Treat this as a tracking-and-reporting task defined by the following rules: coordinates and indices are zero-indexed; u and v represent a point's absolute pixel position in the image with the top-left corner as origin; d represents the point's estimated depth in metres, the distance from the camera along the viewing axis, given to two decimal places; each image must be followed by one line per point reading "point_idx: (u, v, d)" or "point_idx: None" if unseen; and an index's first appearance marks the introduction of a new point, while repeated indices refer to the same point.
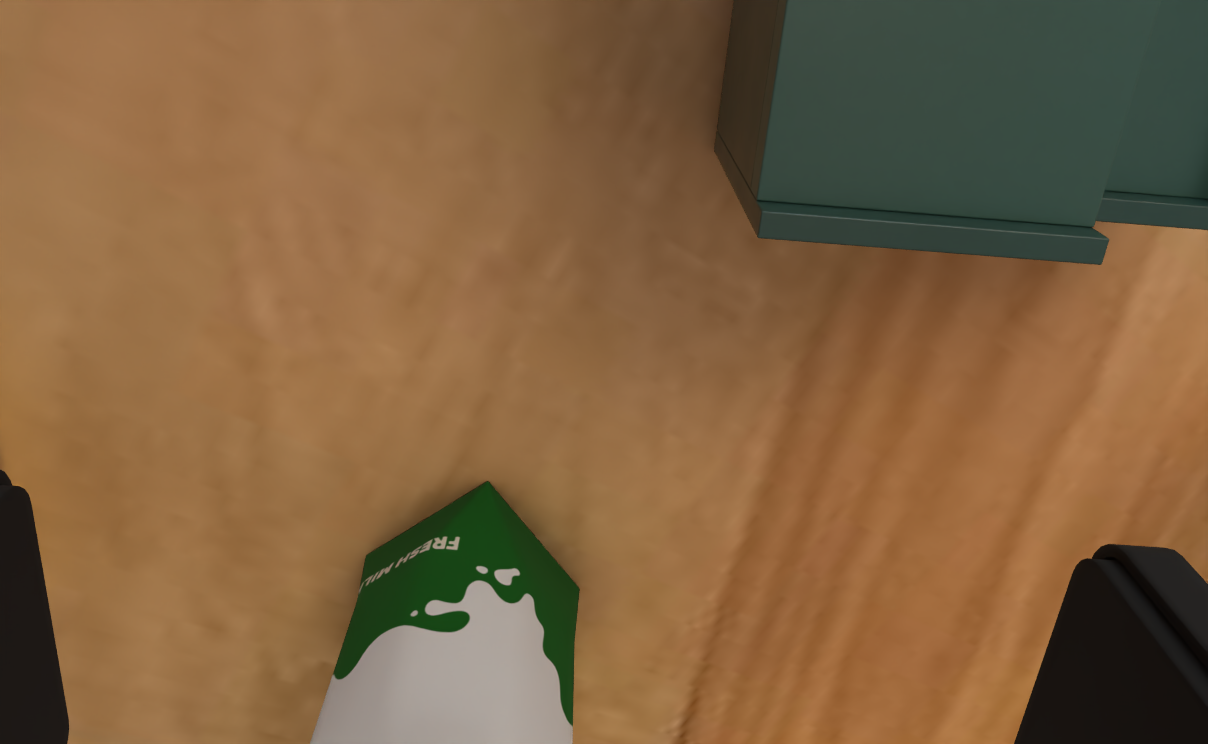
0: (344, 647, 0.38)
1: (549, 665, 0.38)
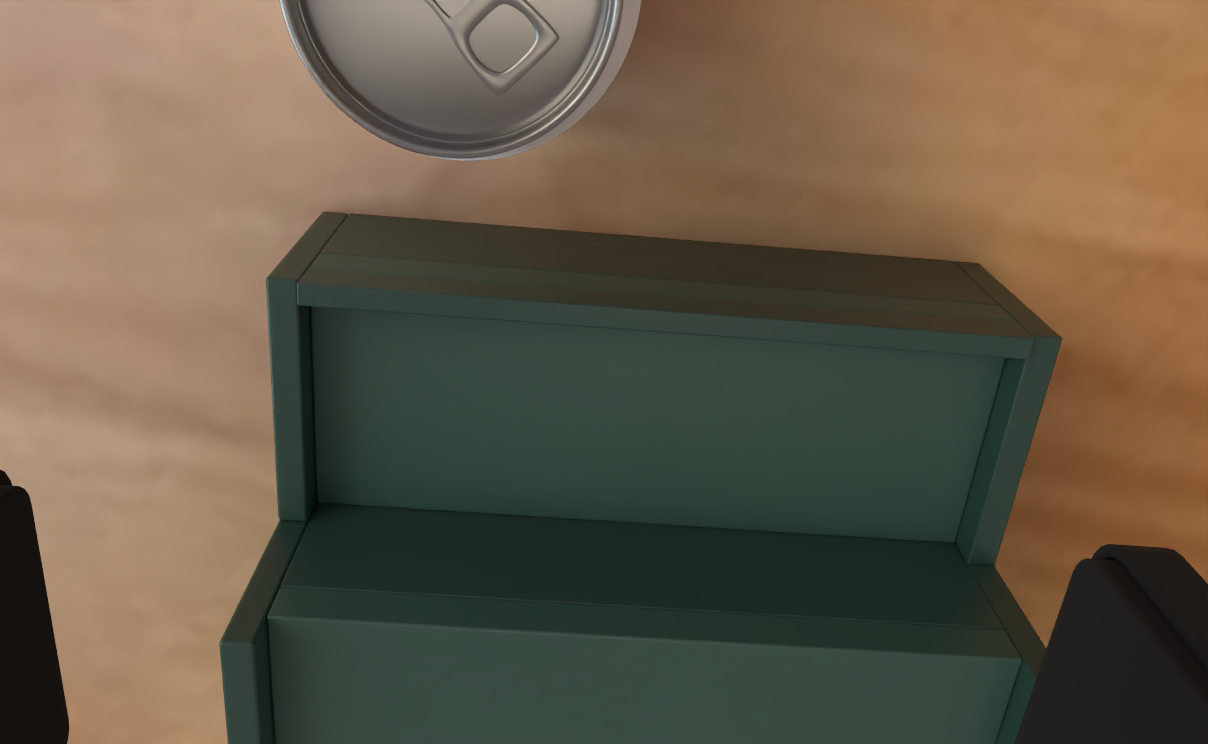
0: None
1: None
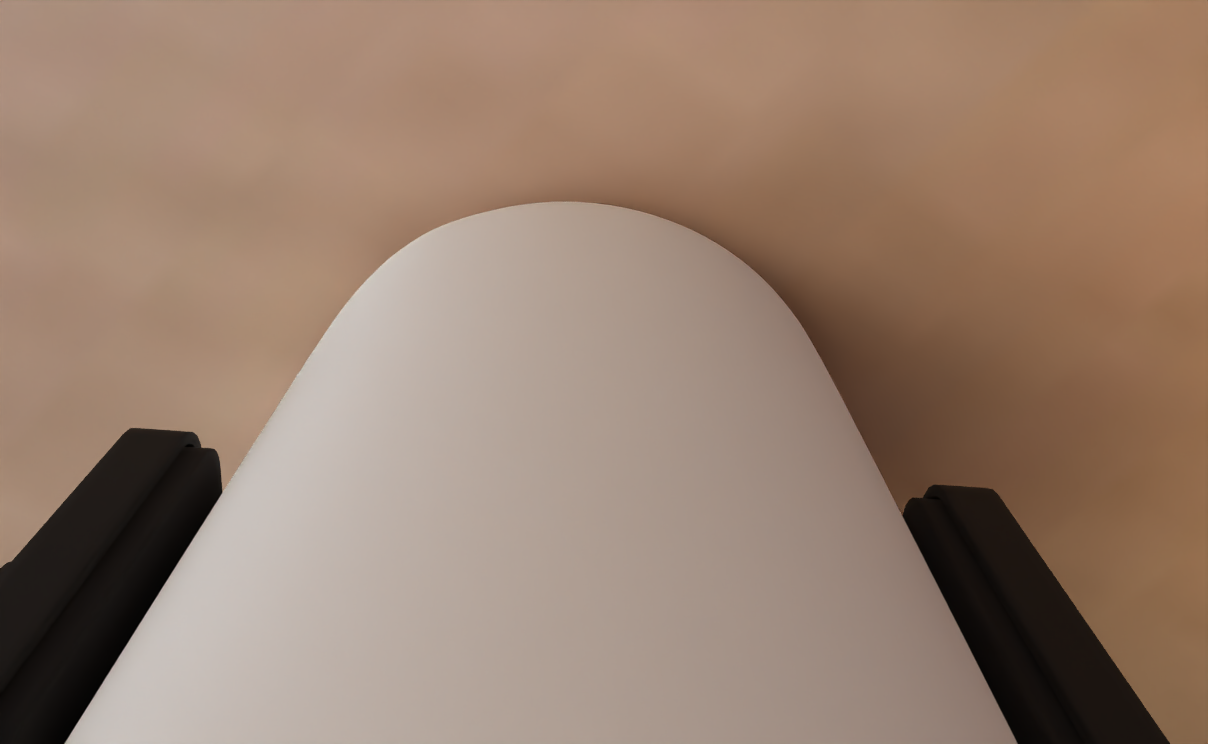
0: None
1: None
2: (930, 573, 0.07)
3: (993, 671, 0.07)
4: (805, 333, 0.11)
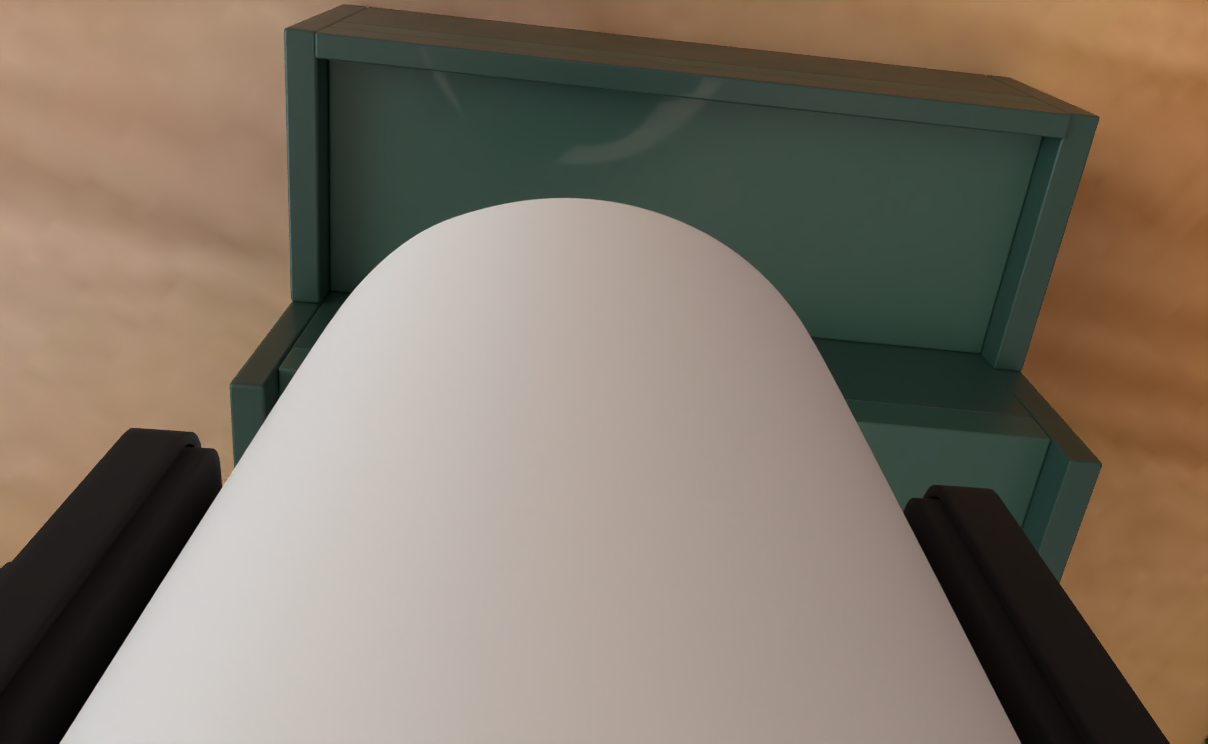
0: None
1: None
2: (931, 568, 0.07)
3: (993, 671, 0.07)
4: (805, 330, 0.11)
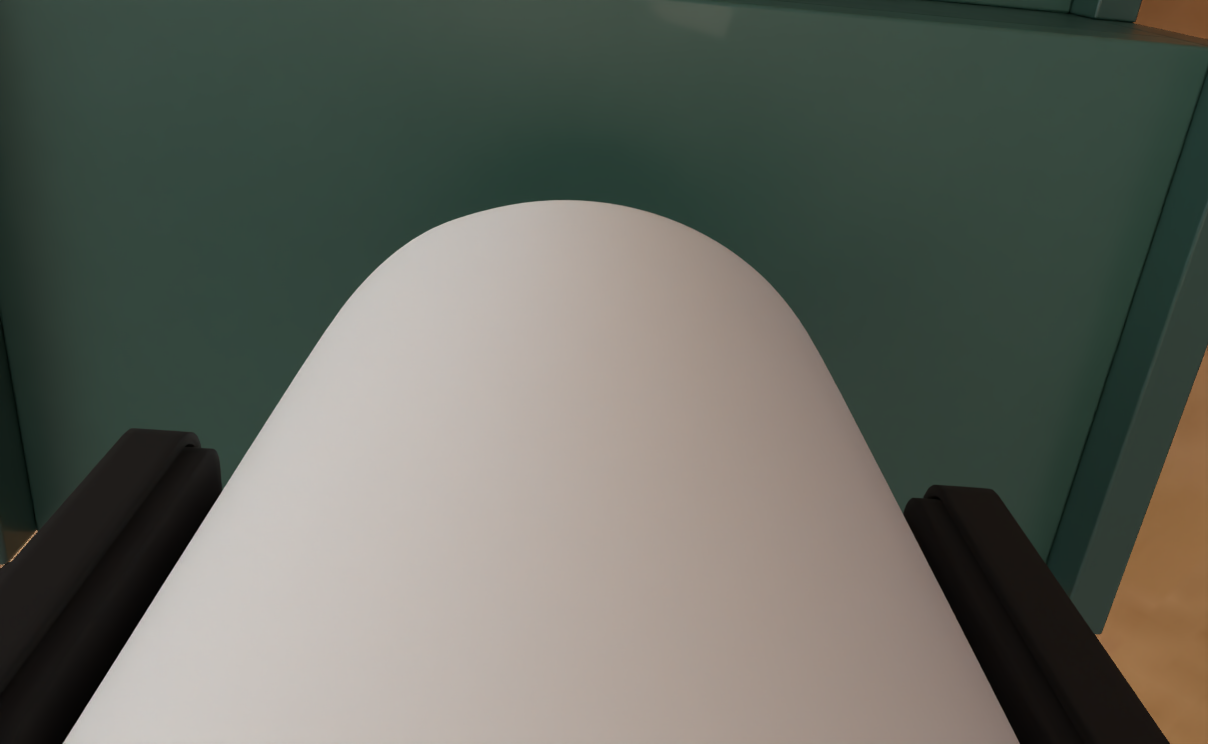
0: None
1: None
2: (931, 572, 0.07)
3: (993, 671, 0.07)
4: (806, 332, 0.11)
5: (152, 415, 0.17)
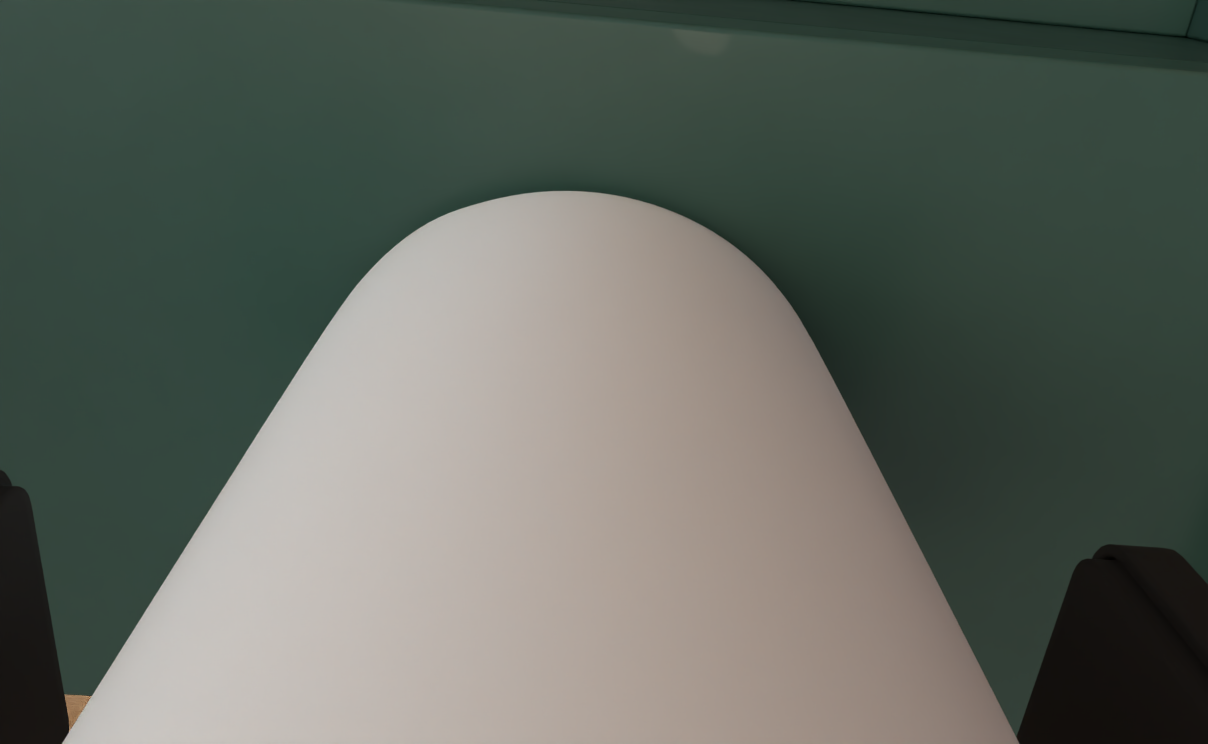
0: None
1: None
2: (915, 541, 0.08)
3: None
4: (798, 318, 0.11)
5: (43, 548, 0.14)
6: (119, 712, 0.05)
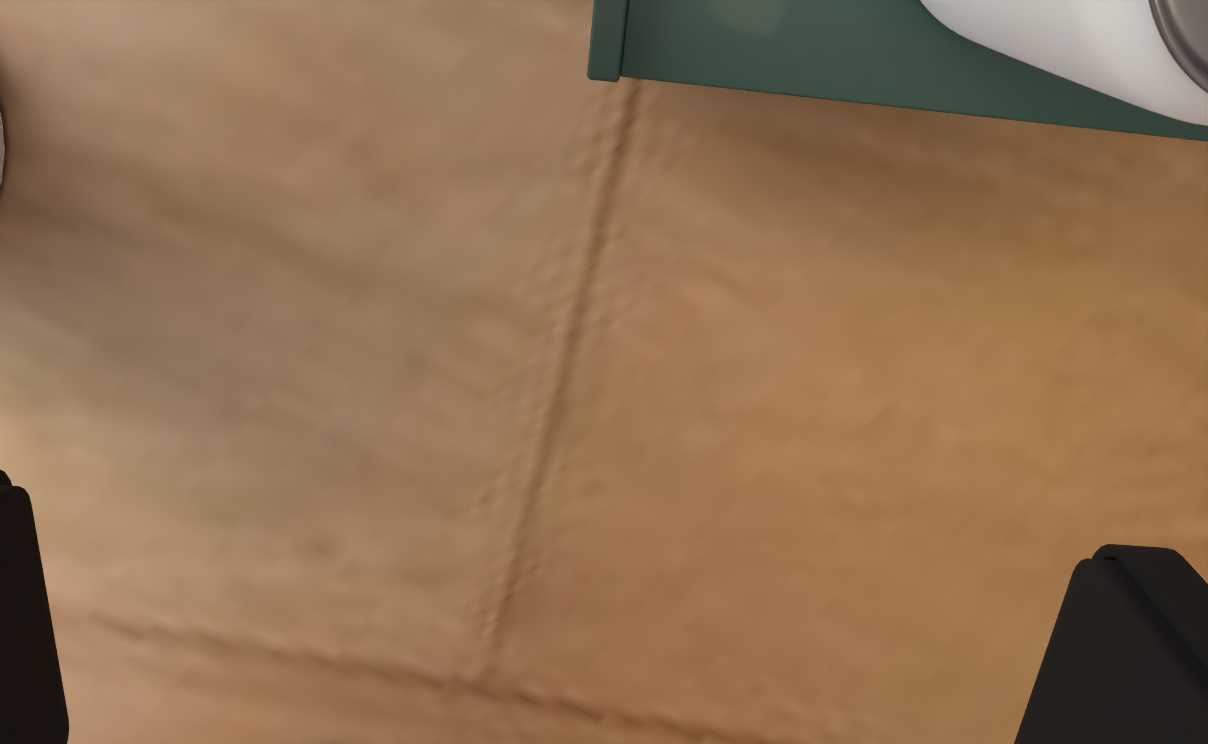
0: None
1: None
2: None
3: None
4: None
5: None
6: None
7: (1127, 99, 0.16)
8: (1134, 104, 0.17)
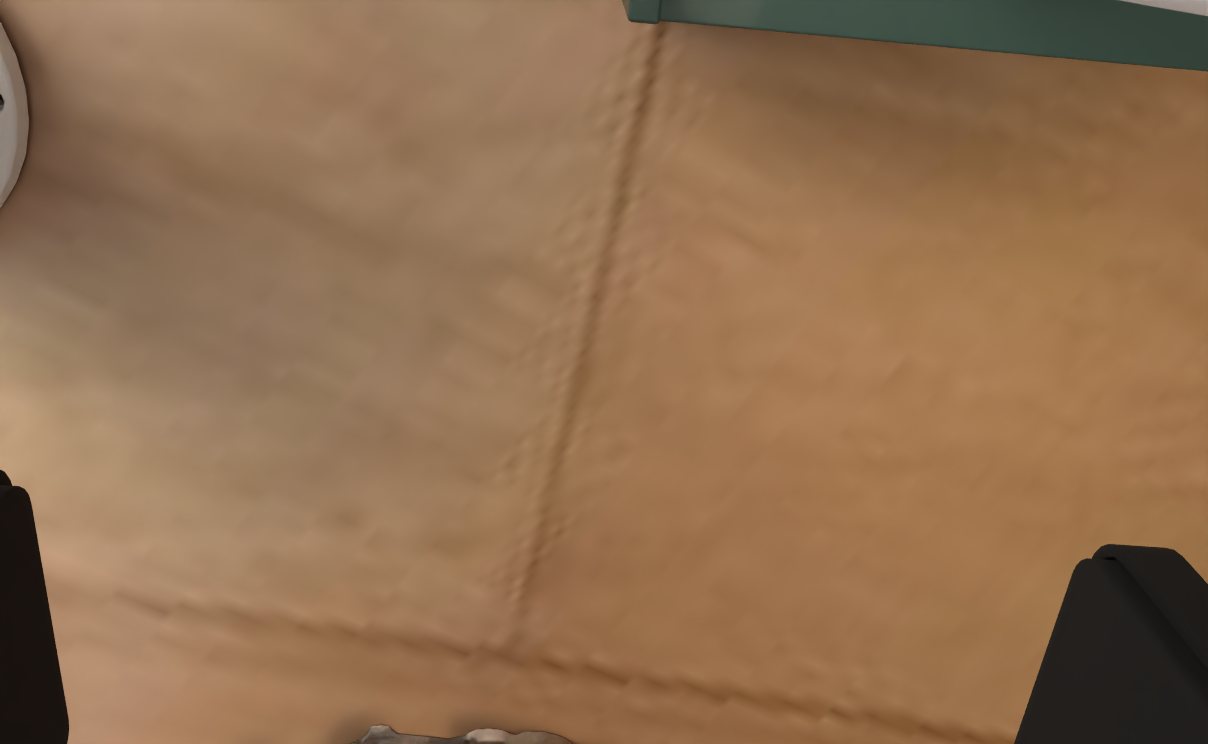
0: None
1: None
2: None
3: None
4: None
5: None
6: None
7: (1181, 1, 0.17)
8: (1187, 7, 0.17)
